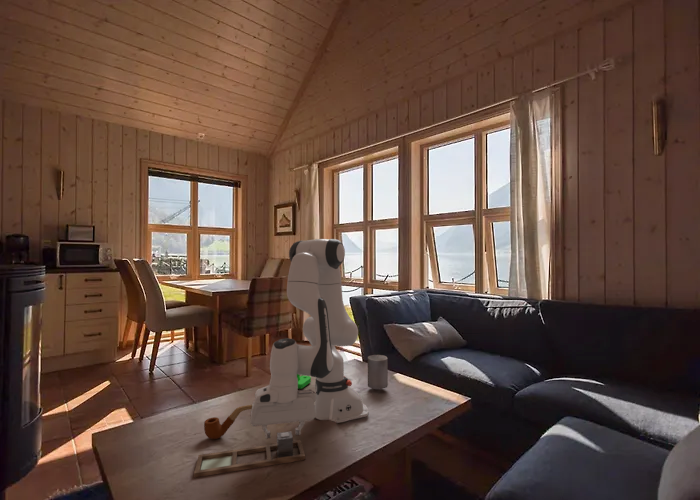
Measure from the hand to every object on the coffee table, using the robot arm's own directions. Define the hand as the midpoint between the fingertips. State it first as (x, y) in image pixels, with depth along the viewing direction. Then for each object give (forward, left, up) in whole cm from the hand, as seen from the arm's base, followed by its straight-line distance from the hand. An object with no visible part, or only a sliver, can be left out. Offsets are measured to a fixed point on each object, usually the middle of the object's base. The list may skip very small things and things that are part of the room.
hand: (283, 436), depth 115 cm
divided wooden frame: (+10, -1, -6) cm, 11 cm away
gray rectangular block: (-1, -1, -6) cm, 6 cm away
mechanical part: (-15, -63, -7) cm, 65 cm away
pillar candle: (-49, -49, -6) cm, 69 cm away
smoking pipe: (+17, -19, -6) cm, 26 cm away
